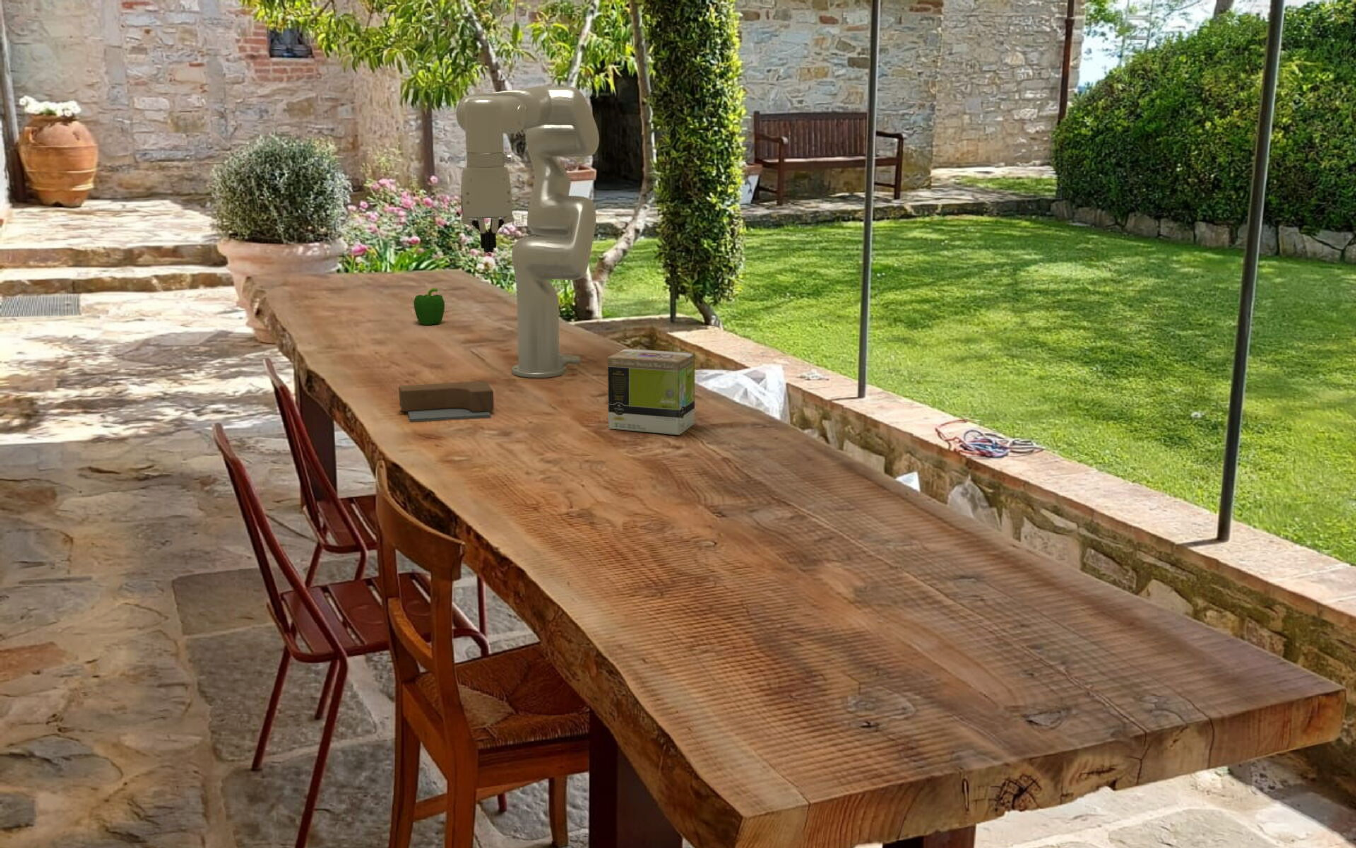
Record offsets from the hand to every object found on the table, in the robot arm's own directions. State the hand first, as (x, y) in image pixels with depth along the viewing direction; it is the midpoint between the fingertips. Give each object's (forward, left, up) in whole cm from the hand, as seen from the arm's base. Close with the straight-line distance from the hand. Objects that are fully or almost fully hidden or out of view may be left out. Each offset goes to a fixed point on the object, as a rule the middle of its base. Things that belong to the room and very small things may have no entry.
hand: (488, 251), depth 265 cm
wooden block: (+1, +6, -29) cm, 30 cm away
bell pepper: (+6, -94, -32) cm, 99 cm away
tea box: (-28, +27, -32) cm, 51 cm away
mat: (+10, +6, -32) cm, 34 cm away
